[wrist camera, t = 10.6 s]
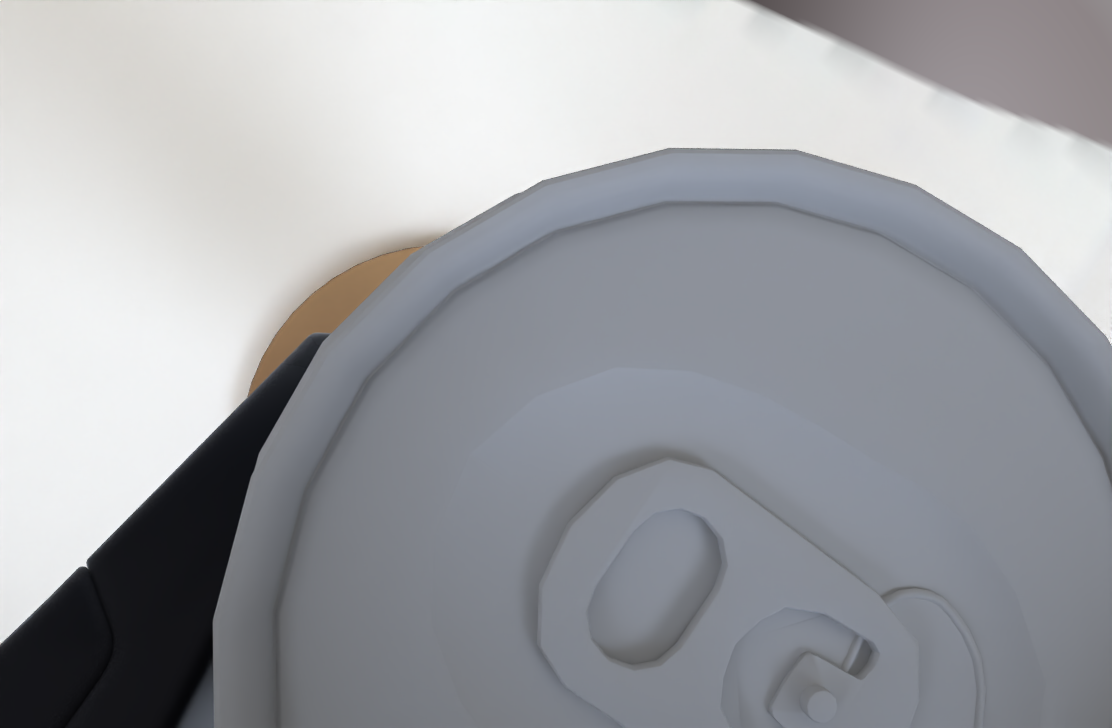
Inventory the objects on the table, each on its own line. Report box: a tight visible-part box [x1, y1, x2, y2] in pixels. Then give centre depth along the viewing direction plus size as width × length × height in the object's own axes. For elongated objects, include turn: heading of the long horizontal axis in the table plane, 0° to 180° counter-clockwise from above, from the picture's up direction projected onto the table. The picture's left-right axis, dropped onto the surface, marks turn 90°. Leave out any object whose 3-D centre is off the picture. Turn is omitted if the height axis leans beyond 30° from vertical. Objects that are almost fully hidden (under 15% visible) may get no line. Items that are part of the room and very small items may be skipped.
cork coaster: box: [247, 246, 424, 398], centre depth 21 cm, size 10×10×1 cm
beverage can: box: [213, 148, 1112, 728], centre depth 9 cm, size 5×5×12 cm
